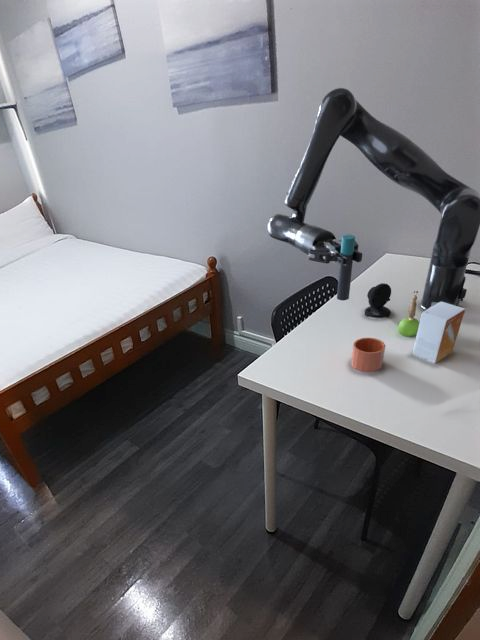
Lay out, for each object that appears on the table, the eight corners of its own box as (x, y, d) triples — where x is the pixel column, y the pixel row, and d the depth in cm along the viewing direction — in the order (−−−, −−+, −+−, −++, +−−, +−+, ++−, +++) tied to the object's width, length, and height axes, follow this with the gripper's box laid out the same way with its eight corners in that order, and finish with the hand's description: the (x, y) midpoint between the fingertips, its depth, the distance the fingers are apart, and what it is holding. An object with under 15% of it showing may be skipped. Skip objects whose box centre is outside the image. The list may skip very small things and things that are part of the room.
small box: (434, 366, 102) (446, 320, 94) (411, 356, 106) (420, 312, 99) (453, 353, 105) (466, 308, 97) (429, 344, 110) (440, 300, 102)
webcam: (377, 306, 130) (381, 276, 124) (396, 314, 124) (401, 284, 118) (358, 313, 128) (362, 284, 122) (377, 322, 122) (381, 292, 116)
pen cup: (369, 355, 109) (372, 334, 106) (388, 369, 104) (392, 347, 100) (345, 363, 108) (347, 342, 104) (363, 377, 102) (366, 356, 98)
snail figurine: (418, 329, 116) (427, 291, 109) (418, 341, 111) (427, 301, 104) (397, 328, 118) (404, 290, 111) (396, 339, 114) (403, 300, 106)
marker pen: (344, 294, 108) (350, 233, 98) (351, 298, 106) (357, 237, 96) (334, 297, 107) (339, 236, 98) (341, 301, 105) (347, 239, 95)
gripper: (291, 233, 107) (330, 251, 94) (337, 221, 110) (381, 237, 96) (291, 261, 112) (327, 281, 98) (335, 249, 114) (377, 267, 101)
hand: (354, 259), depth 98 cm, fingers closed on marker pen, 3 cm apart
